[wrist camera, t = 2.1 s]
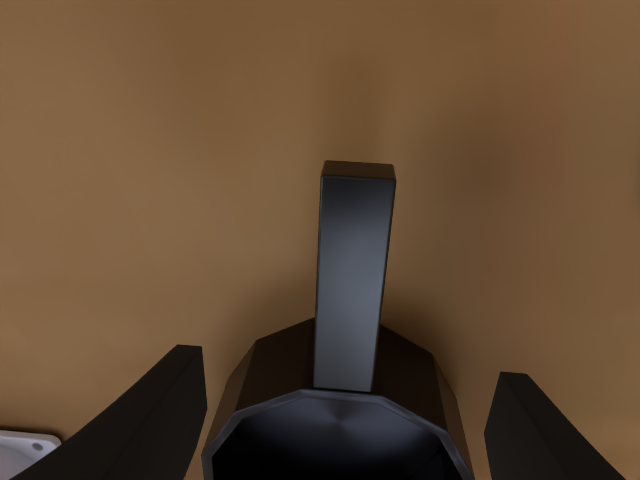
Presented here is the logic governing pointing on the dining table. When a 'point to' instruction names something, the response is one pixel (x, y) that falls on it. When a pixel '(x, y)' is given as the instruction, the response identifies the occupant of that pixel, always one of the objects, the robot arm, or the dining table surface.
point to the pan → (341, 368)
